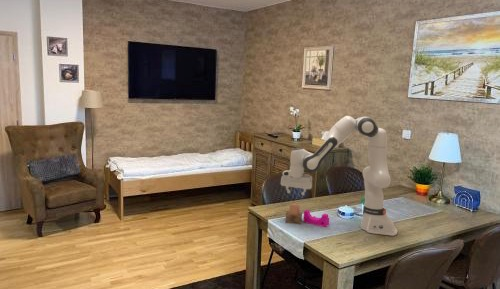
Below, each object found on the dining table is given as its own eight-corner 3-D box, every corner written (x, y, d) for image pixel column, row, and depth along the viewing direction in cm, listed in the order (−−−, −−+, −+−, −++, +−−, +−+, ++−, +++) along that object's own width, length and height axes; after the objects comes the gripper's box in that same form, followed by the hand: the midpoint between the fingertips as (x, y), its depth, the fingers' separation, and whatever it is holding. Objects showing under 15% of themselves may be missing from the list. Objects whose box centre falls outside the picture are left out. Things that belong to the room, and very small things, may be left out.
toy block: (328, 224, 244) (329, 213, 242) (325, 227, 238) (326, 215, 237) (307, 219, 251) (307, 208, 250) (303, 222, 246) (304, 211, 245)
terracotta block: (298, 213, 248) (299, 204, 247) (296, 215, 243) (297, 206, 242) (291, 212, 250) (292, 203, 249) (289, 214, 245) (289, 205, 244)
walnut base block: (301, 219, 251) (302, 212, 251) (301, 224, 242) (301, 217, 241) (286, 218, 253) (287, 210, 252) (285, 223, 243) (285, 215, 242)
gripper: (313, 173, 241) (312, 195, 243) (283, 170, 250) (282, 190, 251) (311, 175, 236) (310, 197, 237) (280, 172, 244) (279, 193, 246)
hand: (295, 194), depth 245 cm, fingers open, 8 cm apart
